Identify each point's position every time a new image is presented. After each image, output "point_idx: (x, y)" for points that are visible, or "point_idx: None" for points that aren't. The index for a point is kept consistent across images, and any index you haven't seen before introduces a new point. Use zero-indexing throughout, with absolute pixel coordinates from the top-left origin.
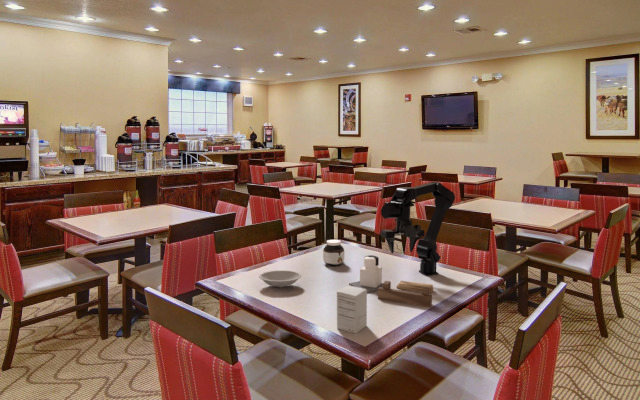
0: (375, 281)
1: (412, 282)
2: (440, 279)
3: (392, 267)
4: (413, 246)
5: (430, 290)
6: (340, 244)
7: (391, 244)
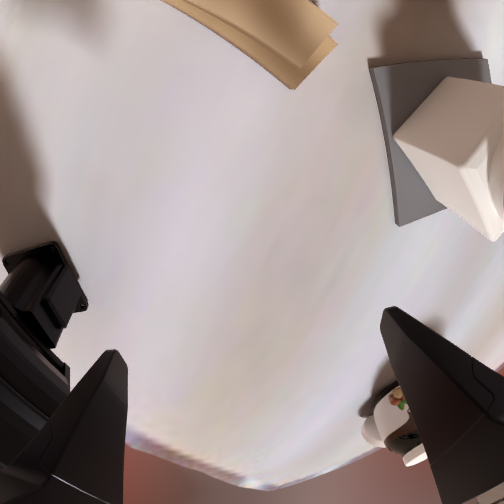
0: (473, 81)
1: (228, 10)
2: (3, 172)
3: (206, 371)
4: (73, 403)
5: None
6: (410, 449)
7: (496, 375)
